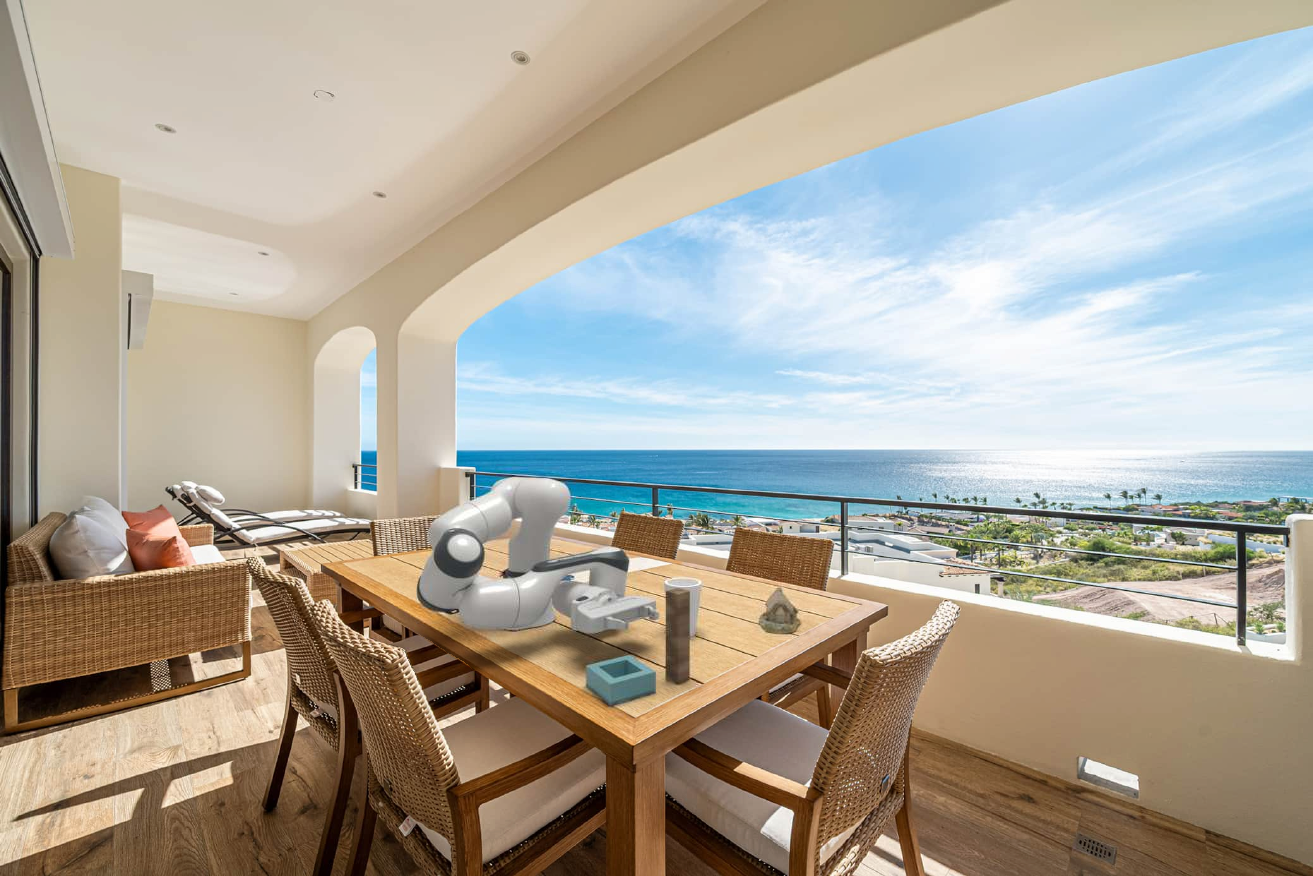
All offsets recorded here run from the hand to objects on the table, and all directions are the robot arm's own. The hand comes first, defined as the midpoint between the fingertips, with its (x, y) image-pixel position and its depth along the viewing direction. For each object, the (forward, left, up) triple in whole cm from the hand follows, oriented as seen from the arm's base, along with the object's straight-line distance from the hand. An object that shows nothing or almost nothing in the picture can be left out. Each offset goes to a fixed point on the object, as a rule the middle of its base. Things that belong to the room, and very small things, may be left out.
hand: (641, 620), depth 116 cm
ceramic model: (+29, +35, -10) cm, 46 cm away
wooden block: (+9, -5, -10) cm, 14 cm away
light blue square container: (-1, -12, -10) cm, 15 cm away
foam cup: (+5, +22, -10) cm, 25 cm away
